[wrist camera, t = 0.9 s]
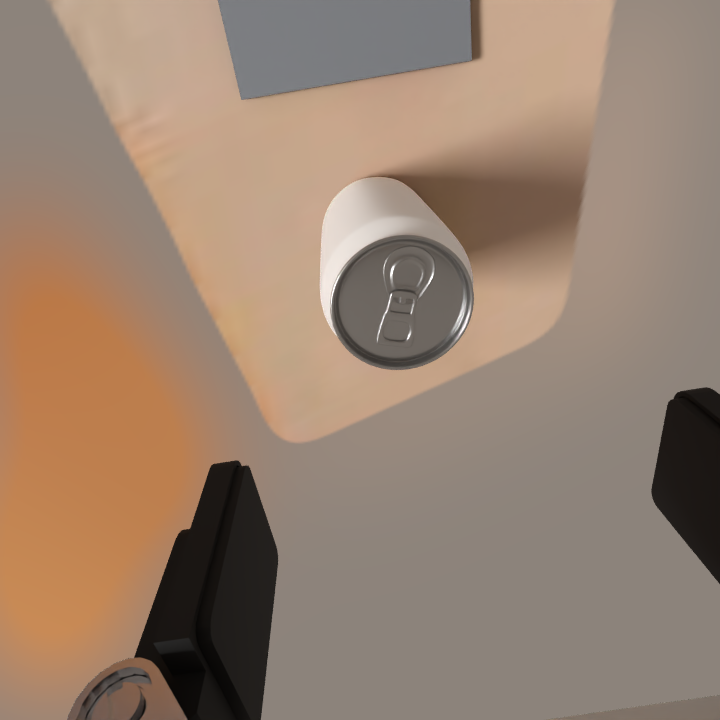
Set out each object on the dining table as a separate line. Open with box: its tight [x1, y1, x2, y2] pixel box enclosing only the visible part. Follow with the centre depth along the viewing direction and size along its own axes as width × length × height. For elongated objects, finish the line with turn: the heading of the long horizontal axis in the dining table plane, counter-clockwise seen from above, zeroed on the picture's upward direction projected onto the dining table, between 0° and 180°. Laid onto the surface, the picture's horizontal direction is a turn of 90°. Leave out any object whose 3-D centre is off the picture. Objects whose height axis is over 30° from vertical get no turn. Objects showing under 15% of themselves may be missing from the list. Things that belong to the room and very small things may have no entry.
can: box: [320, 177, 474, 370], centre depth 24 cm, size 6×6×12 cm
